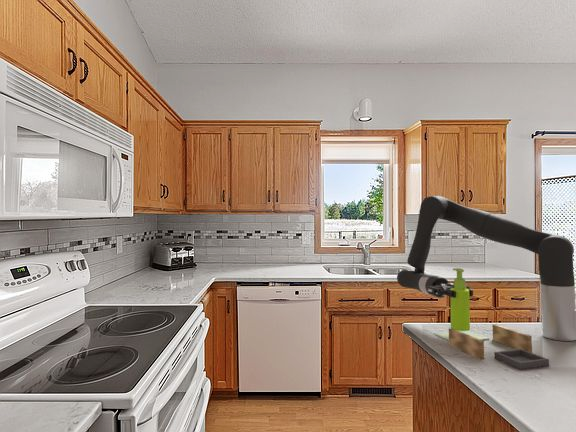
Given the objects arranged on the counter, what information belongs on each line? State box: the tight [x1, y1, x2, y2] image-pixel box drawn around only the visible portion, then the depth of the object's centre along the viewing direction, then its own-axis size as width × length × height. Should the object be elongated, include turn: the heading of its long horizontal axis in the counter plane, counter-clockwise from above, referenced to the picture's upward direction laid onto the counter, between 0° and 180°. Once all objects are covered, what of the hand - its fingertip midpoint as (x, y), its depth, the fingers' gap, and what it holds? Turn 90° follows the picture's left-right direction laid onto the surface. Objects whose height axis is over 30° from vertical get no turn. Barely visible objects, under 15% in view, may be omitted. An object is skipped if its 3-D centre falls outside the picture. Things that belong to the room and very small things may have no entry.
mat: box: [433, 330, 490, 342], centre depth 130 cm, size 11×13×1 cm
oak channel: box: [448, 323, 533, 360], centre depth 117 cm, size 14×17×5 cm
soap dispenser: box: [449, 267, 471, 331], centre depth 130 cm, size 6×7×20 cm
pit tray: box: [494, 349, 550, 371], centre depth 106 cm, size 9×9×2 cm
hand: (463, 293), depth 128 cm, fingers closed on soap dispenser, 6 cm apart
